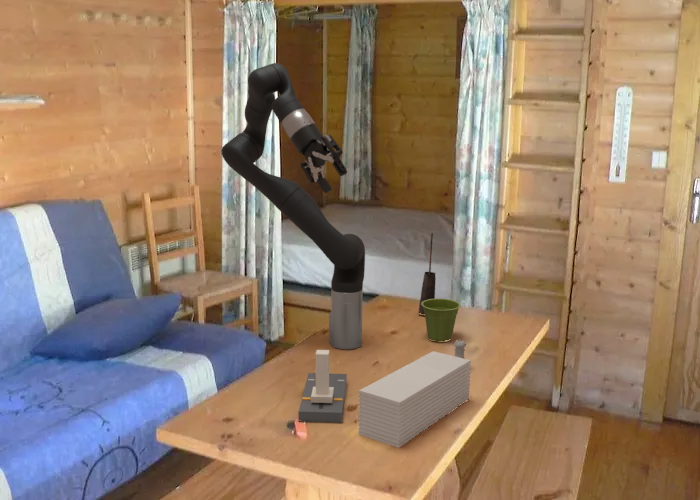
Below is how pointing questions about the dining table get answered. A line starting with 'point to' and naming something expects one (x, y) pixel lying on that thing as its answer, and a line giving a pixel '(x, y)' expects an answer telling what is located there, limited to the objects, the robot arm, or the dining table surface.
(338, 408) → the fader console
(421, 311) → the butter churn
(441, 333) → the plant pot
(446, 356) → the stack of papers
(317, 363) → the fader tab
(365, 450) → the dining table surface
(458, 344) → the rook chess piece
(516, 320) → the dining table surface
